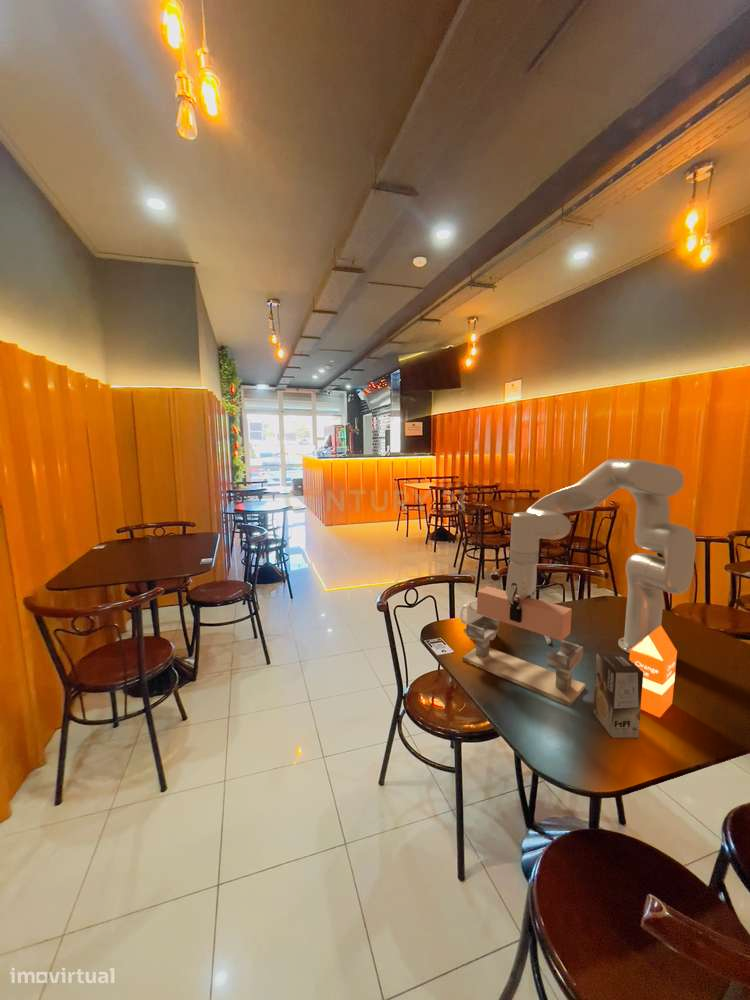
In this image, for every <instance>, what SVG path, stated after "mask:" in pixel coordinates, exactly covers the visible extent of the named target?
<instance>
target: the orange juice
mask: <svg viewBox="0 0 750 1000" xmlns="http://www.w3.org/2000/svg"><path fill="white" fill-rule="evenodd" d="M676 649H677V648H676V647H675V646H674V644H673V642H672V641H671V639H670V637H669V636H668V634H667V632H666V631H665V629H664V628H663V626H662V625H661V626H660V627H658V628H657V629H656V630H654V631H653V632H652V633H650V634H649V635H648V636H647V637H645V638H644V639H643V640H642V641H640V643H638V644H637V645H636V646H634V647H633V648H632V649H630V653H629V657H628V659H629V660H630V661H631V662H633V663H634V664H635V665H636V666H637V667H638V668H639V669H640V670H642V671H643V672H644V673H643V684H642V697H641V710H642V711H645V712H646V713H648V714H650V715H653V716H655V717H658V718H661V717H662V716H663V715H664V713H665V712H666V711H667V710H668V709H669V708H670V707H671V705H673V696H674V686H675V680H676V679H675V677H676V668H677V667H676V666H677V657H678V656H677V655H678V650H676Z"/></svg>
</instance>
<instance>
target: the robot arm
mask: <svg viewBox="0 0 750 1000" xmlns="http://www.w3.org/2000/svg"><path fill="white" fill-rule="evenodd" d="M684 482H685V479H684V476H683V473H682V472H681V471H680V469H679V468H676V467H674V466H670V465H665V464H660V463H658V462H657V463H656V462H652V461H648V460H642V459H634V458H633V459H631V458H630V459H628V458H627V459H626V458H610V459H607V460H605V461H603V462H602V463H601V464H599V465H598V466H597V467H596V468H594V469H593V470H592V471H590V472H589V473H587V475H585V476H584V477H582V478H581V479H580V480H579V481H577V482H576V483H574V484H572V485H569V486H567V487H565V488H564V487H563V488H561V489H559V490H556V491H554V492H552V493H549V494H547V495H544V496H543V497H542V498H540V499H539V500H537V501H535V503H533V504H532V505H531V506H530V507H528V508H527V509H526V511H518V512H515V513H513V514H512V515H511V522H510V543H509V546H510V547H509V564H508V569H507V576H506V585H505V591H506V595H507V596H508V598H507V600H508V601H509V604H510V605H509V606H510V620H513V621H516V622H519V623H520V622H521V618H522V609H521V603H522V599H523V598H525V597H530V598H533V599H534V594H535V591H536V590H537V577H538V574H537V572H538V571H537V564H538V563H539V553H540V551H539V550H540V539H545V540H560V539H563V538H565V537H567V535H568V534H569V533H570V532H571V528H572V523H571V521H570V519H569V518H568V517H567V515H564V513H570V512H576V511H585V510H589V509H593V508H596V507H597V506H599V505H600V504H601V503H603V502H604V501H605V500H606V499H608V498H609V497H610V496H611V495H613V494H614V493H615V492H617V491H618V490H622V489H623V490H627V491H628V492H629V493H630V494H631V496H632V497H633V499H634V500H635V505H636V516H635V524H634V525H635V526H634V542H635V545H636V546H637V547H639V548H640V549H644V550H646V551H650V552H653V553H657V554H660V555H664V557H662V556H659V555H655V554H650V553H645V552H638V553H637V552H636V553H634V554H632V555H630V556H629V557H628V558H627V560H626V563H625V573H626V574H625V575H626V580H627V597H626V608H625V621H624V624H625V625H624V635H623V636H622V637H620V638H619V639H618V643H617V644H618V647H620V649H621V650H622V651H623V652H626V653H628V654H630V649H632V648H633V647H634V646H636V645H637V644H638V643H640V641H642V640H643V639H644V638H645V637H647V636H648V635H649V634H650V633H652V632H653V631H654V630H656V629H657V628H658V627H660V626H662V619H663V608H664V597H663V593H662V591H663V592H664V593H665V592H666V593H669V594H673V595H680V594H684V593H686V591H687V590H689V588H690V586H691V584H692V581H693V577H694V576H693V574H694V566H695V559H696V550H697V548H696V547H697V539H696V536H695V534H694V532H693V531H692V530H691V529H690V528H688V527H687V526H683V525H680V524H674V523H671V522H670V513H671V505H670V501H669V499H668V497H671V496H675V495H676V494H678V493H679V492H680V491H681V490H682V488H683V486H684ZM515 595H519V597H516V596H515ZM515 599H519V600H518V603H517V602H516V601H515ZM675 649H676V650H677V648H675ZM677 651H678V650H677Z"/></svg>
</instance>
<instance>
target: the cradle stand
mask: <svg viewBox="0 0 750 1000" xmlns="http://www.w3.org/2000/svg"><path fill="white" fill-rule="evenodd" d="M499 629H500V621H499V620H496V619H493V618H490V617H487V616H484V615H481V616H479V617H478V618H476V619H474V620H473V621H471V622H469V623H468V624H467V627H466V626H465V634H466V633H467V635H466V637H468V638H469V637H471V638H474V639H476V640H475V648H473V649H471V651H469V652H468V653H466V654H465V655H463V656H462V661H463V662H465V661H466V662H465V663H467V662H468V664H469V665H472V664H473V665H472V666H474V665H475V667H477V668H479V667H480V668H479V669H481V668H482V670H484V671H486V672H489V673H491V674H493V675H494V676H498V677H500V678H503V679H504V680H508V682H509V681H510V682H512V683H514V684H517V685H518V686H521V687H523V688H525V689H528V690H530V691H533V692H535V693H537V694H540V695H542V696H545V697H547V698H549V699H552V700H554V701H557V702H558V703H561V704H563V705H566V706H568V707H571V706H572V705H573V703H574V702H575V701H576V699H577V698H579V696H580V695H581V694H582V692H583V691H584V689H585V687H586V683H584V682H581V681H579V680H577V679H573V678H572V677H573V670H574V669H575V667H577V665H578V664H579V663H580V662H581V661H582V658H583V657H584V656H583V655H584V646H581V645H579V644H576V643H572V642H571V641H566V640H564V639H563V640H562V641H560V640H559V651H558V652H557V653H555V652H552V651H548V652H547V653H546V654H547V660H546V666H547V667H548V668H551V669H554V670H555V671H554V670H553V671H552V670H550V669H548V668H544V667H542V666H539V665H537V664H534V663H532V662H530V661H529V662H528V661H526V660H523V659H521V658H518V657H516V656H513V655H510V654H508V653H505V652H502V651H500V650H497V649H495V648H492V647H490V645H491V644H490V642H491V641H490V637H491V636H492V635H494V634H495V633H496V634H497V633H498V632H499V631H500V630H499ZM471 638H470V639H471Z"/></svg>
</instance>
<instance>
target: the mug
mask: <svg viewBox="0 0 750 1000" xmlns="http://www.w3.org/2000/svg"><path fill="white" fill-rule="evenodd" d="M459 611H460V613H459V614H460V615H459V616H460V617H459V618H460V620H461V624H464V625H465V628H466V627H467V624H468V623H469V622H471V621H473V620H474V619H476V618H478V617H479V616H481V615H480V614H477V600H476V599H475V600H470V601H468V602H467V603H465V604H463V605H462V606H461V608H460V610H459ZM465 613H466V615H465ZM465 634H467V633H466V632H465ZM496 634H497V633H495V634H494V635H492V636H491V637H490V640H491V641H493V640H495V639H496V636H497V635H496ZM494 638H495V639H494ZM469 639H471V637H470V638H469ZM473 639H474V638H472V639H471V640H473ZM474 641H476V639H475V640H474Z"/></svg>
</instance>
